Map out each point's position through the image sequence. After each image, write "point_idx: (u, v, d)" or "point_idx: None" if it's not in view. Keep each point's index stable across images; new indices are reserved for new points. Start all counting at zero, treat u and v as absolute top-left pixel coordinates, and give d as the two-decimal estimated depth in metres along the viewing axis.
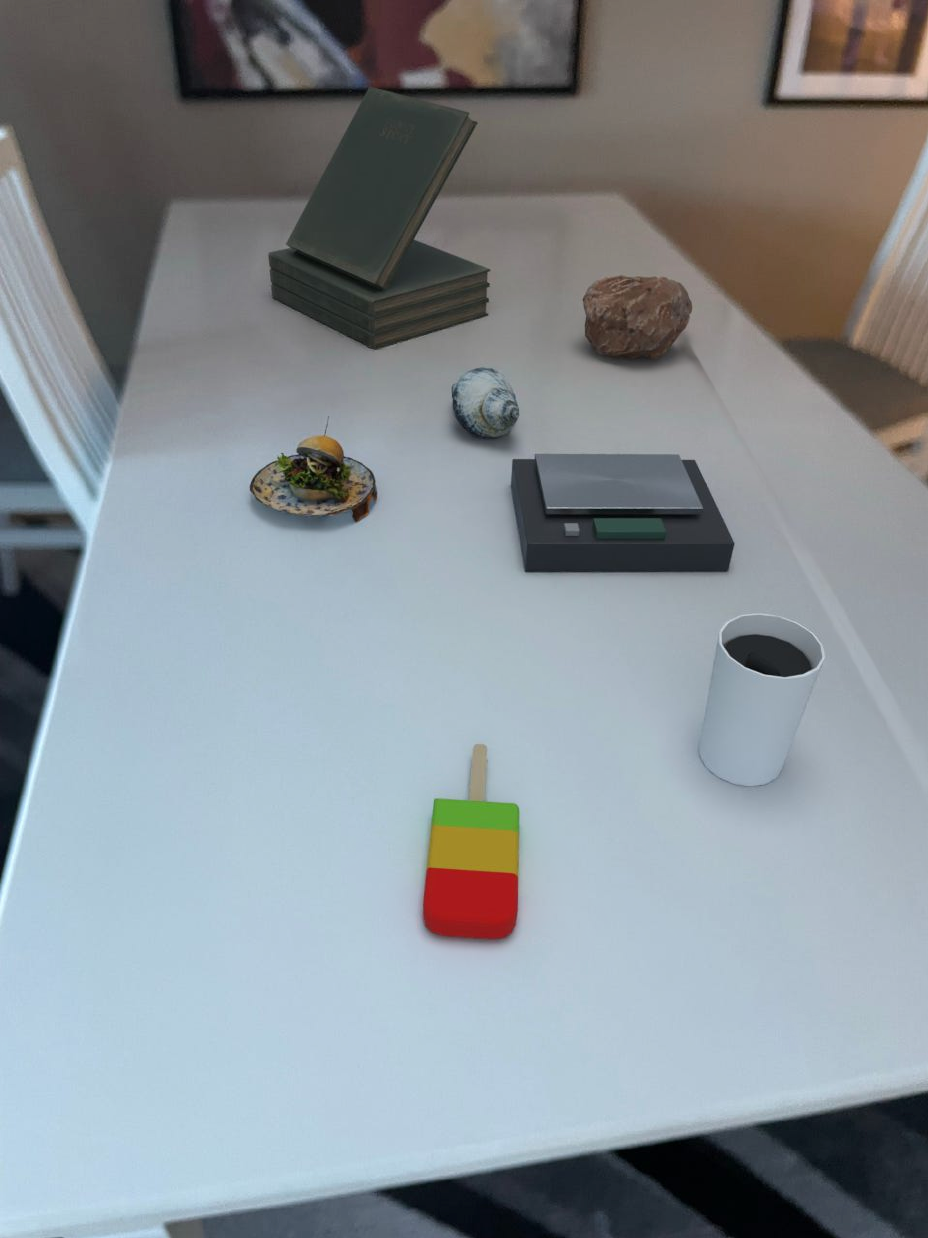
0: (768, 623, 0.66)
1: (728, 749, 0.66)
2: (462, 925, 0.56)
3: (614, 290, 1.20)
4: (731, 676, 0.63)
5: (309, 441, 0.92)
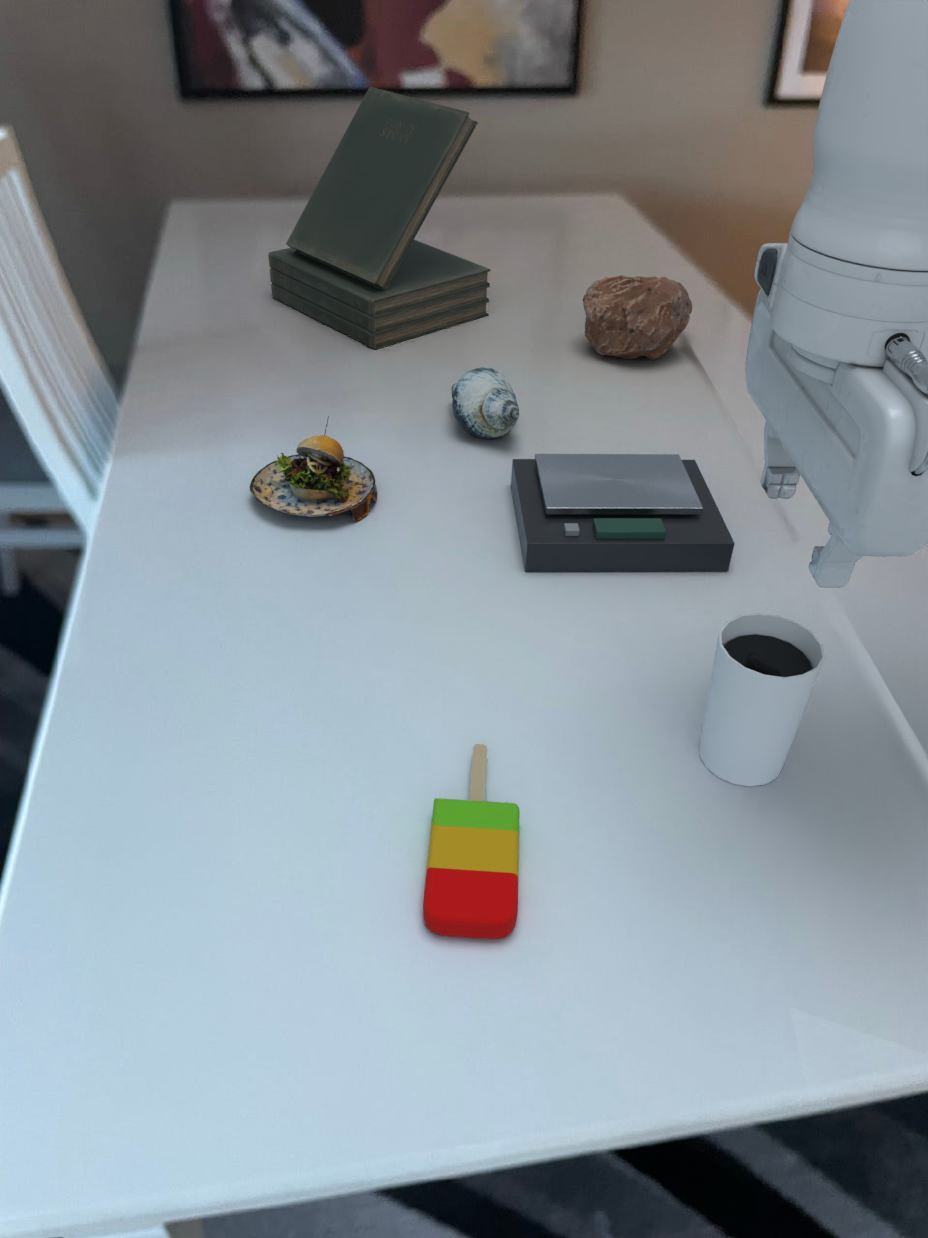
0: (768, 623, 0.66)
1: (728, 749, 0.66)
2: (462, 925, 0.56)
3: (614, 290, 1.20)
4: (731, 676, 0.63)
5: (309, 441, 0.92)
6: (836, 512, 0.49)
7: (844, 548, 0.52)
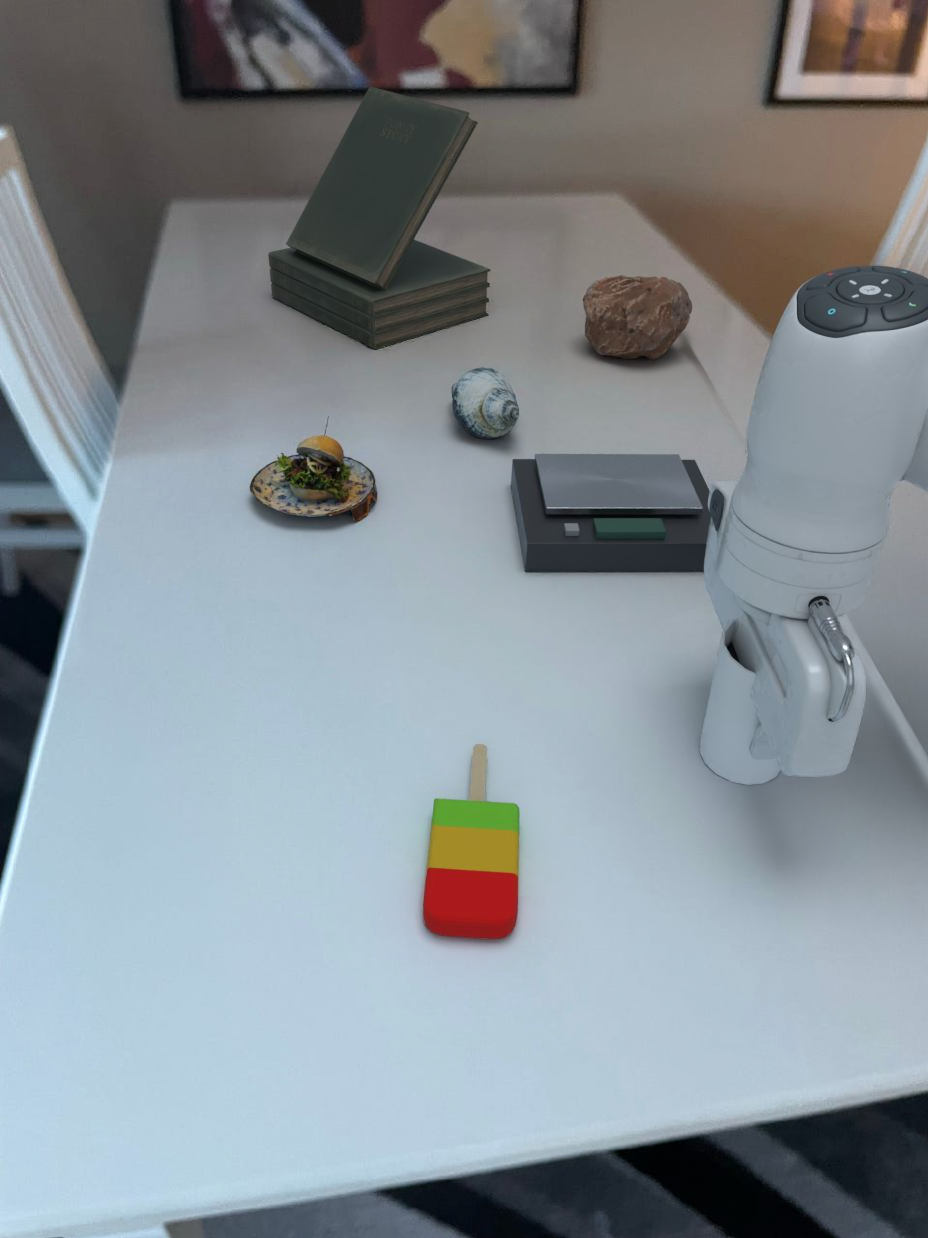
0: None
1: (727, 747, 0.66)
2: (462, 925, 0.56)
3: (614, 290, 1.20)
4: (732, 676, 0.63)
5: (309, 441, 0.92)
6: (771, 735, 0.59)
7: None
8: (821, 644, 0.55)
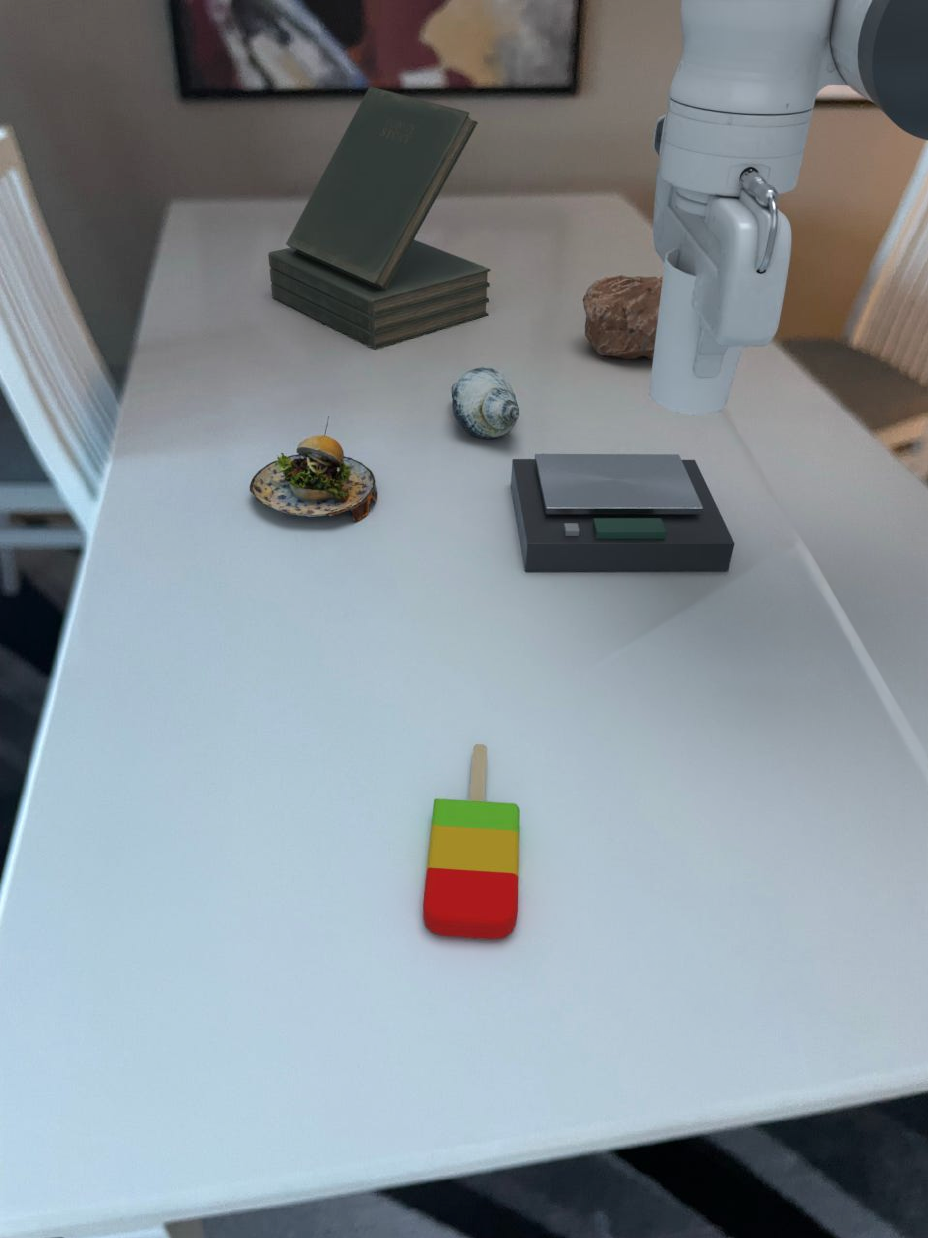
0: None
1: (673, 372, 0.70)
2: (462, 925, 0.56)
3: (614, 290, 1.20)
4: (674, 287, 0.67)
5: (309, 441, 0.92)
6: (708, 315, 0.63)
7: (711, 339, 0.67)
8: (750, 205, 0.59)
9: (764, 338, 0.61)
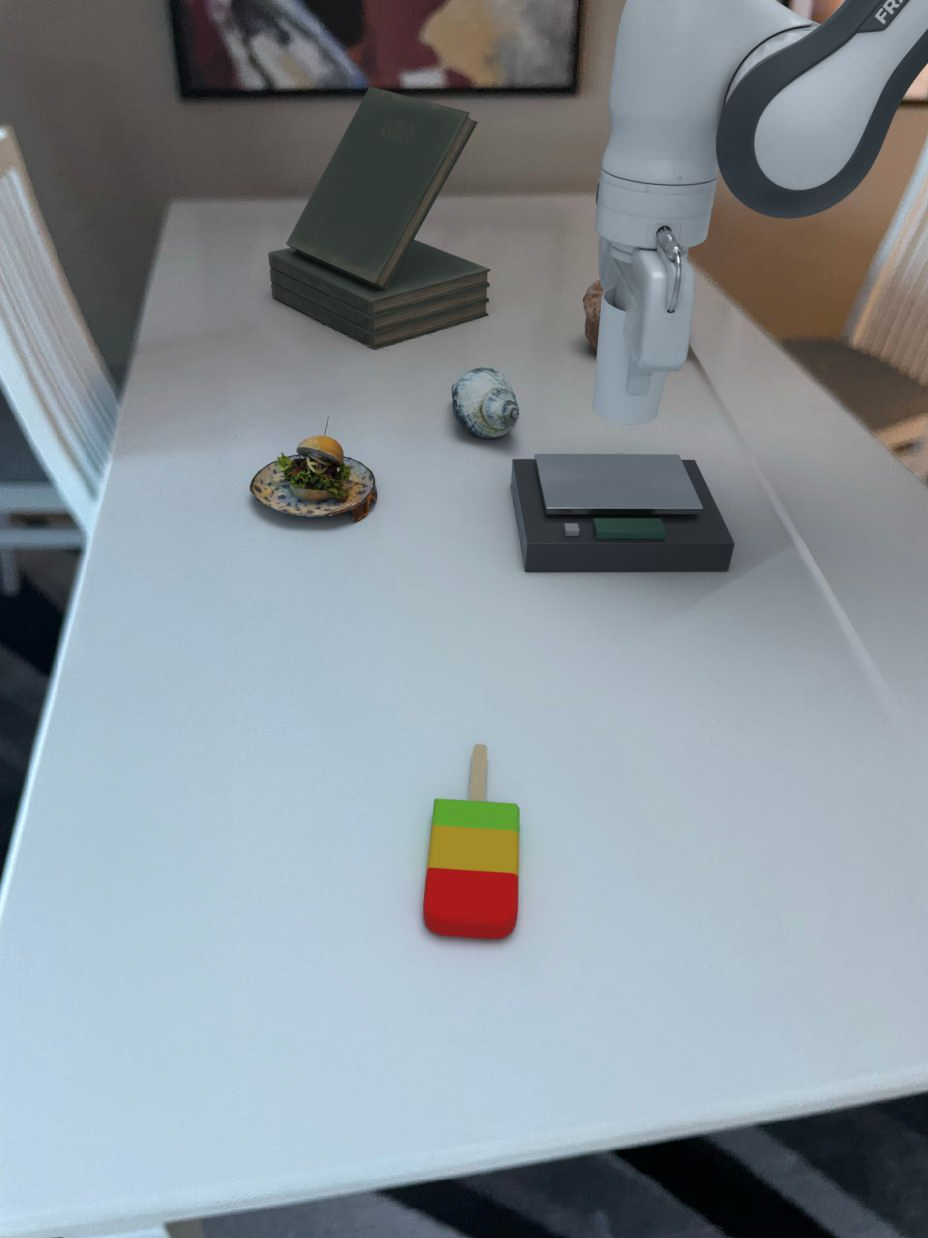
0: None
1: (610, 389, 0.84)
2: (462, 925, 0.56)
3: None
4: (608, 320, 0.81)
5: (309, 441, 0.92)
6: (632, 345, 0.77)
7: None
8: (663, 257, 0.73)
9: (675, 364, 0.75)
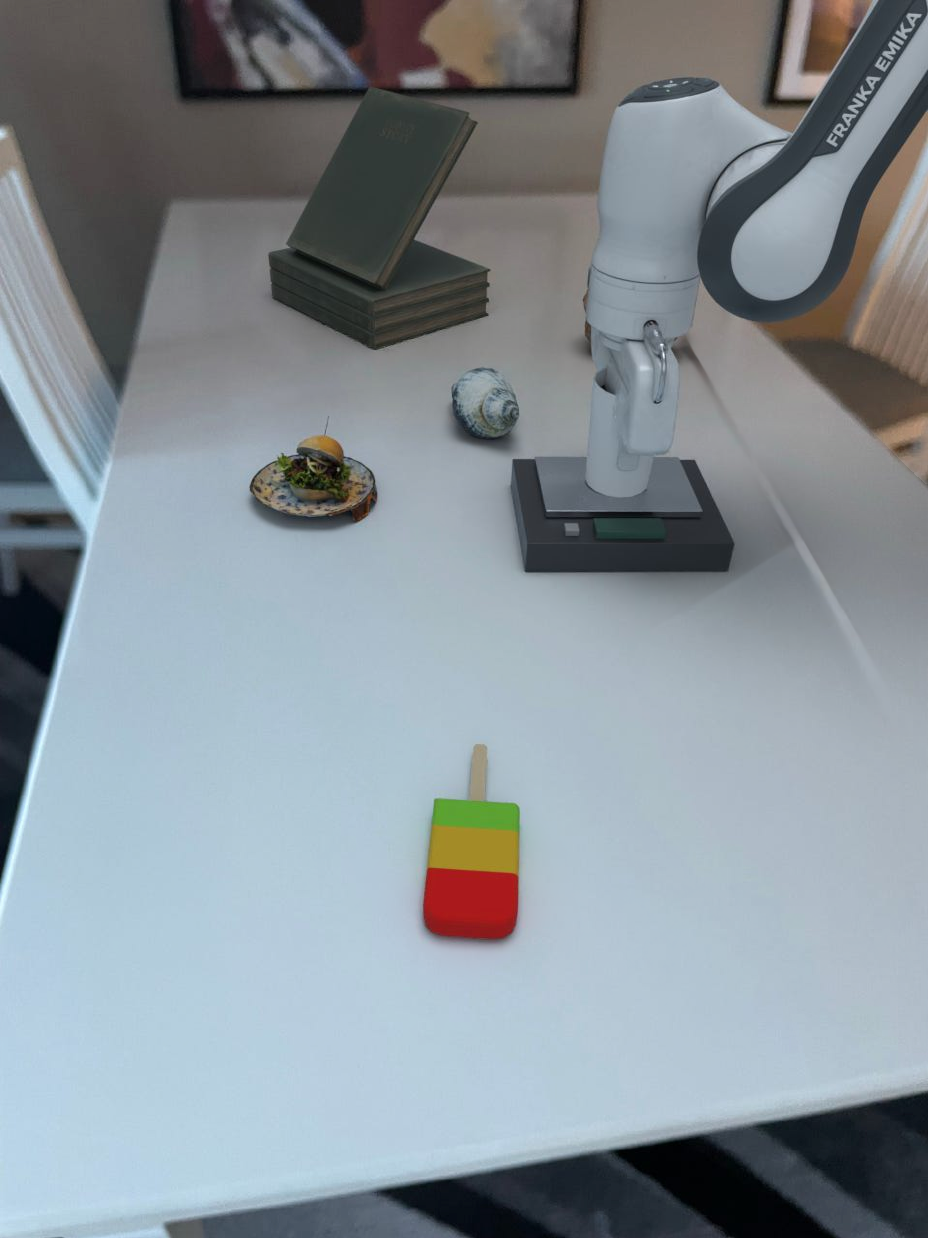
0: None
1: (601, 465, 0.89)
2: (462, 925, 0.56)
3: None
4: (599, 401, 0.85)
5: (309, 441, 0.92)
6: (622, 429, 0.81)
7: None
8: (649, 350, 0.77)
9: (662, 450, 0.79)
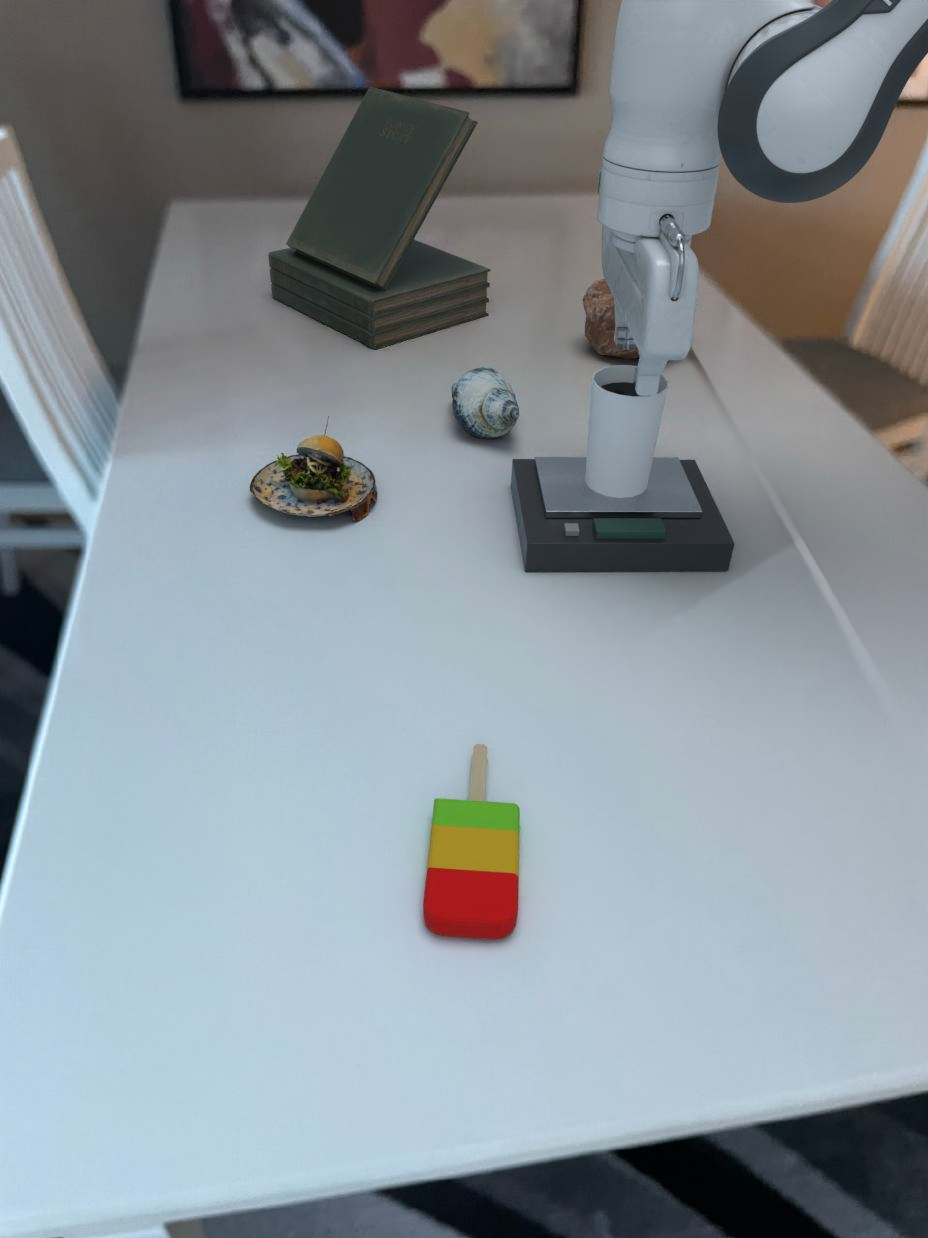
0: None
1: (601, 464, 0.89)
2: (462, 925, 0.56)
3: None
4: (598, 400, 0.86)
5: (309, 441, 0.92)
6: (636, 334, 0.76)
7: (648, 363, 0.78)
8: (666, 245, 0.72)
9: (680, 353, 0.74)
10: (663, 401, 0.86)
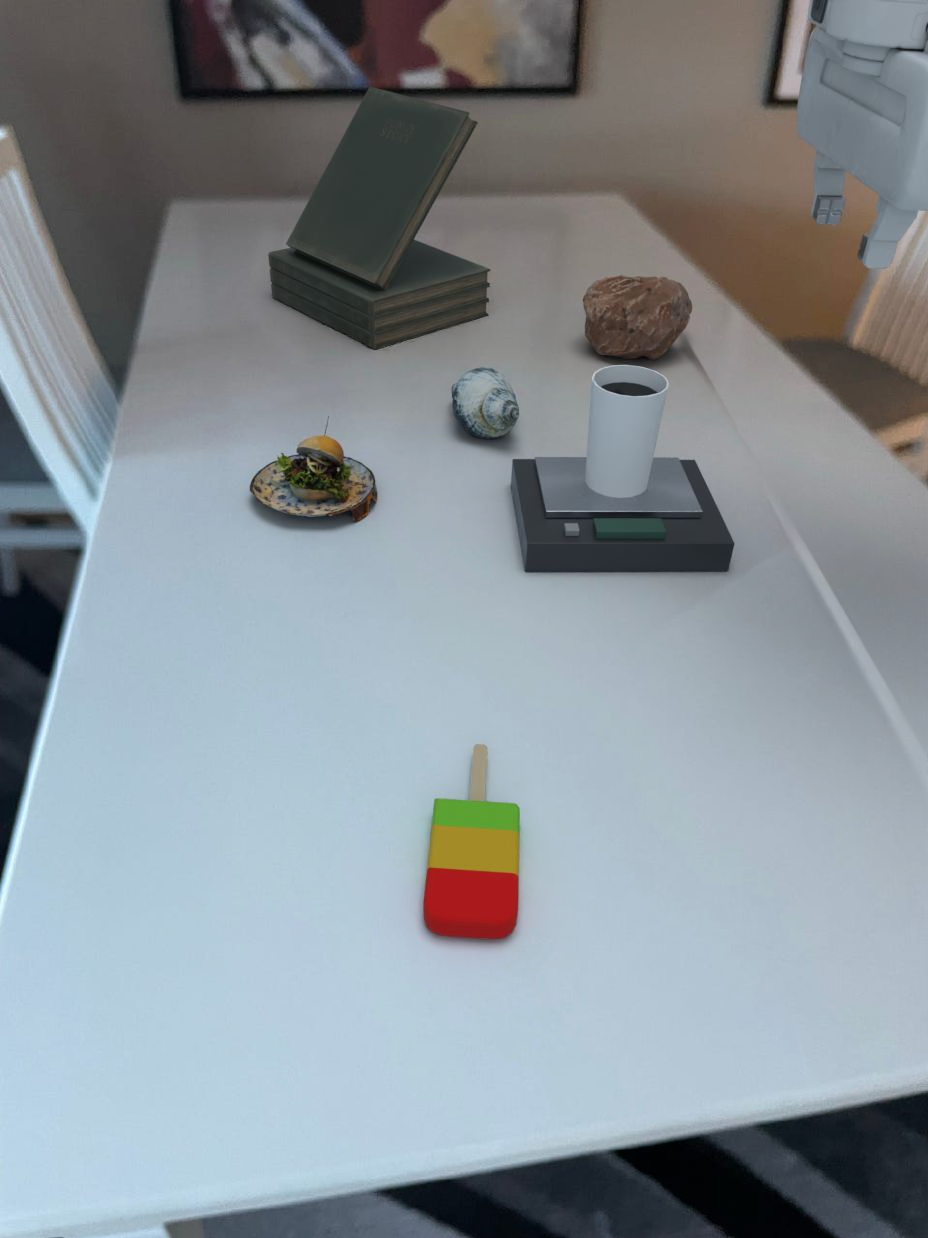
0: (634, 373, 0.89)
1: (601, 464, 0.89)
2: (462, 925, 0.56)
3: (614, 290, 1.20)
4: (598, 400, 0.86)
5: (309, 441, 0.92)
6: (885, 179, 0.59)
7: (890, 221, 0.61)
8: None
9: None
10: (663, 401, 0.86)
